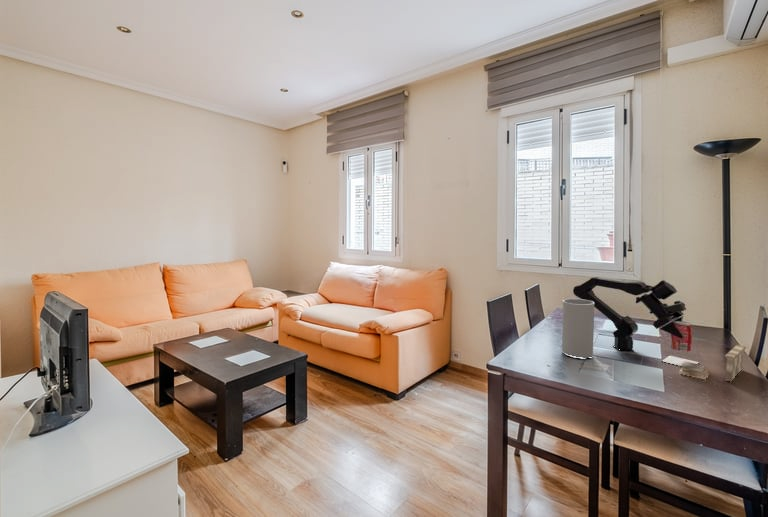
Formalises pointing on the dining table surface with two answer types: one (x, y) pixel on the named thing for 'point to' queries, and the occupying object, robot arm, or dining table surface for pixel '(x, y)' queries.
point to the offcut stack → (694, 370)
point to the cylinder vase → (578, 327)
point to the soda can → (684, 342)
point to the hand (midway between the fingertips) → (685, 336)
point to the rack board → (734, 362)
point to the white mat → (677, 360)
